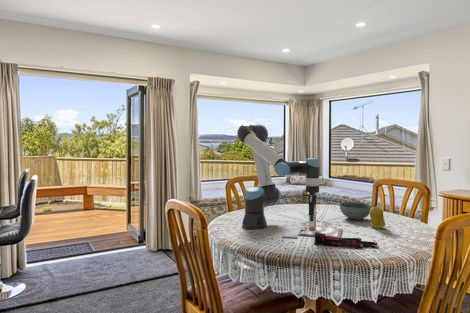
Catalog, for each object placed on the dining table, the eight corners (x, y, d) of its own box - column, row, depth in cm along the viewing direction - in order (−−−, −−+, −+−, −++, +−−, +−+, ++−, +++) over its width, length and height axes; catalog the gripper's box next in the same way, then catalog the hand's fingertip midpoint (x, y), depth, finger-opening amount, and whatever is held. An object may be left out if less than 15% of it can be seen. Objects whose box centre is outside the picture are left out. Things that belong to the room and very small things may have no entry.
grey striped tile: (281, 237, 184) (281, 236, 184) (282, 234, 190) (282, 233, 190) (296, 238, 183) (296, 237, 183) (297, 235, 189) (297, 234, 189)
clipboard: (298, 235, 189) (298, 232, 189) (304, 226, 207) (304, 223, 207) (339, 239, 181) (339, 235, 181) (342, 230, 199) (342, 227, 199)
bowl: (355, 214, 241) (355, 200, 240) (379, 220, 222) (379, 205, 222) (332, 217, 232) (332, 203, 232) (355, 224, 213) (355, 208, 213)
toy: (376, 248, 171) (314, 241, 178) (376, 238, 171) (315, 232, 178) (378, 253, 163) (314, 246, 170) (379, 243, 162) (315, 236, 169)
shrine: (382, 231, 196) (382, 205, 195) (367, 229, 200) (367, 204, 200) (386, 227, 205) (386, 202, 204) (372, 225, 210) (372, 201, 209)
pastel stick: (308, 229, 196) (308, 205, 195) (309, 228, 199) (309, 204, 199) (315, 230, 194) (315, 205, 193) (316, 228, 198) (316, 204, 197)
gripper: (317, 187, 186) (317, 229, 187) (321, 183, 202) (321, 222, 203) (303, 186, 189) (303, 228, 190) (308, 183, 205) (308, 221, 206)
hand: (312, 225), depth 197 cm, fingers closed on pastel stick, 4 cm apart
